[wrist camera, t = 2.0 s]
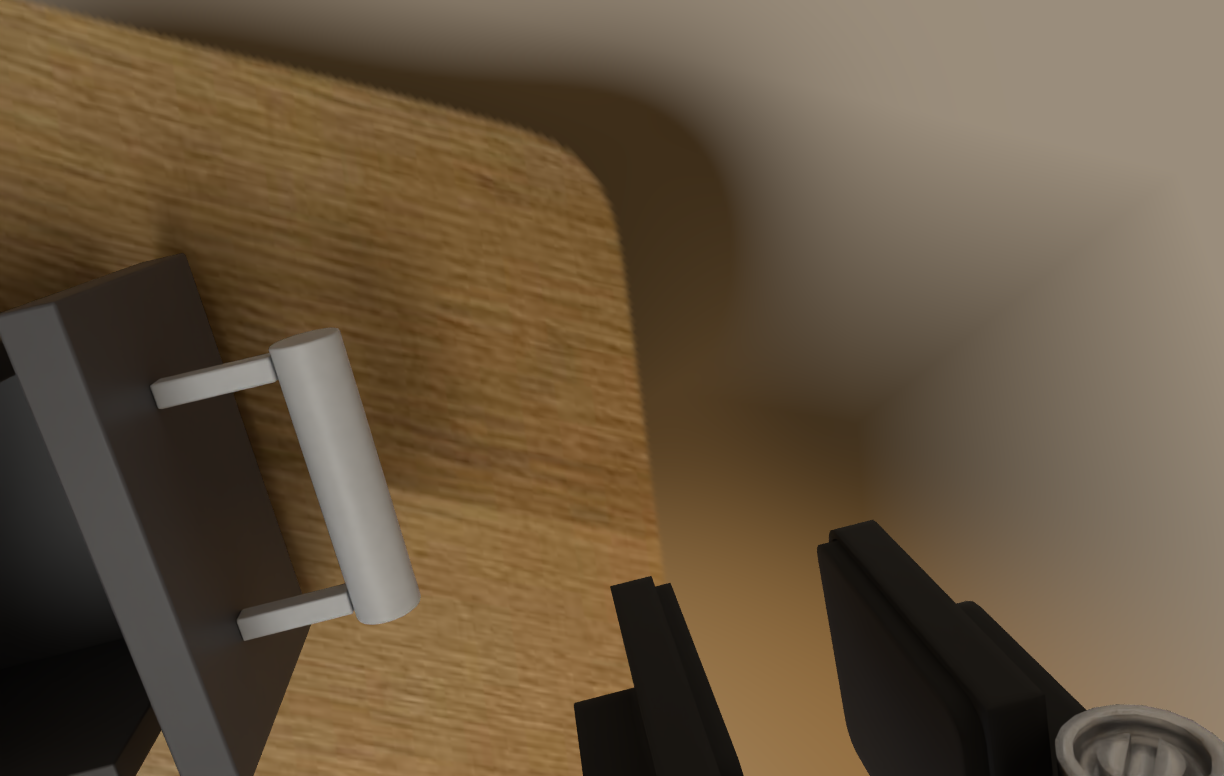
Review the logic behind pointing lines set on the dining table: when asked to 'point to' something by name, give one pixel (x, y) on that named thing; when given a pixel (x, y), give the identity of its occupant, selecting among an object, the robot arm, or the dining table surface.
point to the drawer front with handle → (166, 529)
